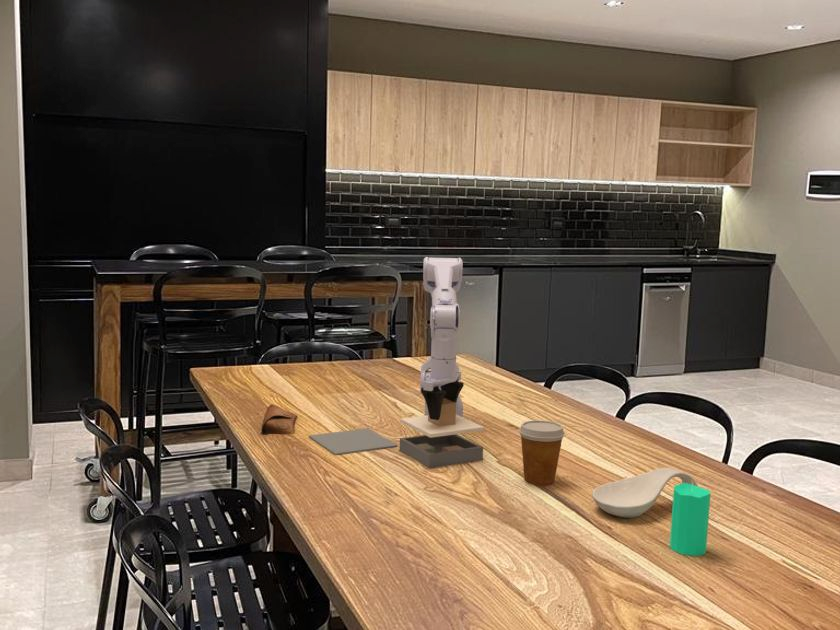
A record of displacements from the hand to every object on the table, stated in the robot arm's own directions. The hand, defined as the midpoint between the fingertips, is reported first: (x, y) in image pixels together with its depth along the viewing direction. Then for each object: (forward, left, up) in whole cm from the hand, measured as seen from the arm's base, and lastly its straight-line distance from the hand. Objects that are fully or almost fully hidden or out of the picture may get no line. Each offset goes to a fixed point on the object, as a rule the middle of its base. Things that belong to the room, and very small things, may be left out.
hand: (441, 415), depth 190 cm
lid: (0, 0, -2) cm, 2 cm away
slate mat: (+14, -18, -9) cm, 25 cm away
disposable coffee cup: (-10, +24, -10) cm, 28 cm away
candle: (-12, +63, -10) cm, 65 cm away
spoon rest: (-20, +45, -10) cm, 50 cm away
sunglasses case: (+25, -39, -10) cm, 47 cm away
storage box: (0, 0, -9) cm, 9 cm away
